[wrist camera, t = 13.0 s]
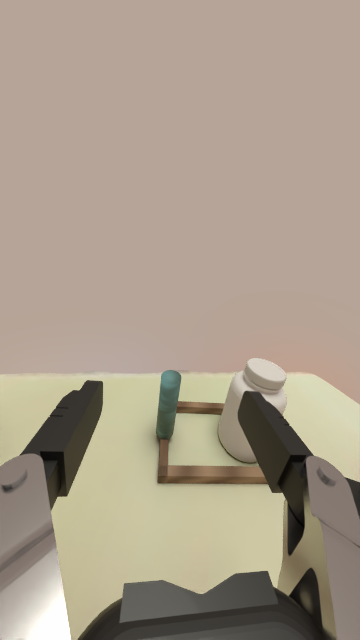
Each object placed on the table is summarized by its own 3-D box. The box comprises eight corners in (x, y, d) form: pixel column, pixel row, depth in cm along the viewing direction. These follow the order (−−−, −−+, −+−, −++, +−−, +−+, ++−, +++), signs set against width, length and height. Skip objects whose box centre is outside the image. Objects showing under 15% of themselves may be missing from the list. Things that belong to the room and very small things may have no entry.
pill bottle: (274, 448, 29) (308, 377, 24) (243, 475, 25) (276, 396, 19) (237, 412, 35) (258, 349, 30) (208, 428, 31) (225, 358, 26)
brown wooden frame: (151, 483, 23) (158, 414, 18) (158, 406, 34) (163, 352, 30) (290, 483, 25) (328, 421, 20) (252, 410, 36) (271, 360, 31)
